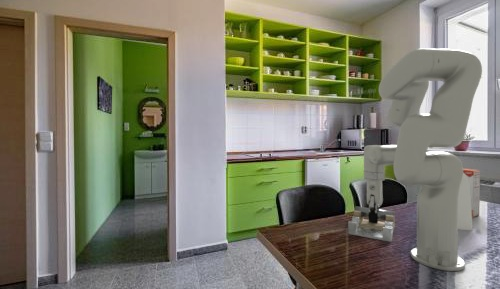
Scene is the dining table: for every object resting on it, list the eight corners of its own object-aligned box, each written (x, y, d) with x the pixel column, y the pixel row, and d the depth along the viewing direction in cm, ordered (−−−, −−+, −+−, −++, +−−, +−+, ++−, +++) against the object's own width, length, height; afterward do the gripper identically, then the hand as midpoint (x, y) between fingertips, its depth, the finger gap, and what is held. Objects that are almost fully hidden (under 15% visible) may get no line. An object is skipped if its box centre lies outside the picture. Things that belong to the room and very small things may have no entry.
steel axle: (393, 223, 96) (393, 212, 96) (354, 217, 104) (354, 207, 104) (394, 220, 100) (394, 210, 100) (356, 214, 107) (356, 205, 107)
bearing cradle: (393, 232, 95) (393, 216, 95) (353, 225, 102) (353, 211, 102) (394, 226, 101) (394, 211, 101) (357, 220, 109) (357, 206, 109)
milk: (435, 227, 100) (436, 161, 99) (425, 218, 111) (425, 159, 110) (472, 230, 96) (473, 162, 95) (457, 220, 107) (458, 159, 106)
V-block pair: (391, 241, 86) (391, 228, 86) (348, 233, 94) (348, 221, 94) (392, 234, 93) (392, 222, 93) (352, 227, 101) (352, 216, 101)
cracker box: (437, 209, 124) (438, 167, 123) (445, 208, 126) (445, 166, 126) (472, 217, 111) (473, 170, 110) (480, 215, 114) (480, 169, 113)
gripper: (382, 179, 92) (382, 228, 93) (386, 173, 107) (386, 216, 107) (360, 178, 96) (360, 225, 97) (367, 172, 111) (367, 213, 111)
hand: (374, 220), depth 102 cm, fingers open, 5 cm apart
